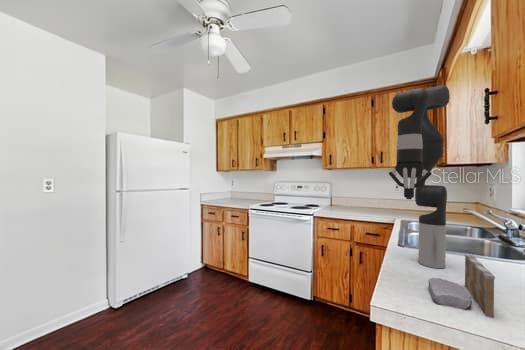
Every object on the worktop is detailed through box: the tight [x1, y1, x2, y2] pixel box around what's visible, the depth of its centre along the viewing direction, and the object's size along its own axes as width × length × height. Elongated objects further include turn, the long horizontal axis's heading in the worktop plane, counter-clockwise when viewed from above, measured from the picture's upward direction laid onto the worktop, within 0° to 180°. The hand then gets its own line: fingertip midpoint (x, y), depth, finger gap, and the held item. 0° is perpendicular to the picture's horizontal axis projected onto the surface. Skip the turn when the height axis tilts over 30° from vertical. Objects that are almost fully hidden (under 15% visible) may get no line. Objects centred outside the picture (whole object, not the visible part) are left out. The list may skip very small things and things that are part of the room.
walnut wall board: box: [464, 253, 496, 319], centre depth 71 cm, size 20×2×11 cm, turn 152°
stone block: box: [427, 277, 473, 310], centre depth 71 cm, size 12×5×10 cm
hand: (408, 199), depth 81 cm, fingers closed
